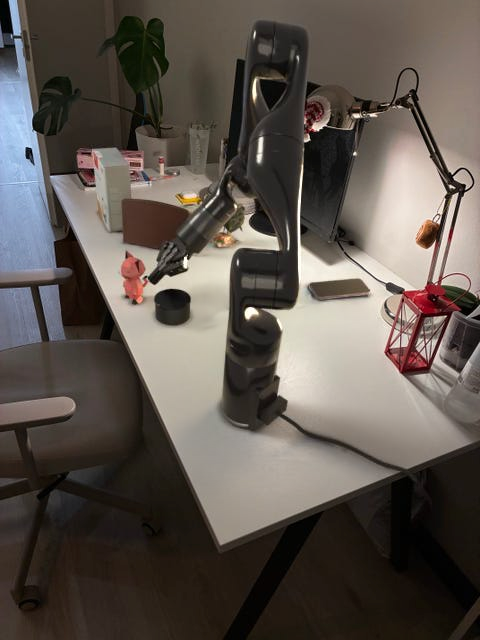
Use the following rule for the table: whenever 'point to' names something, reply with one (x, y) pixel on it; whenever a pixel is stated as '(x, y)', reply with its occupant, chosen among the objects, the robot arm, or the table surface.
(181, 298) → the steel tin
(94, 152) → the hard drive box
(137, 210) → the letter holder
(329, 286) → the smartphone
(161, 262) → the robot arm
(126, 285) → the cat figurine
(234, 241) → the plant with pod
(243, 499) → the table surface
